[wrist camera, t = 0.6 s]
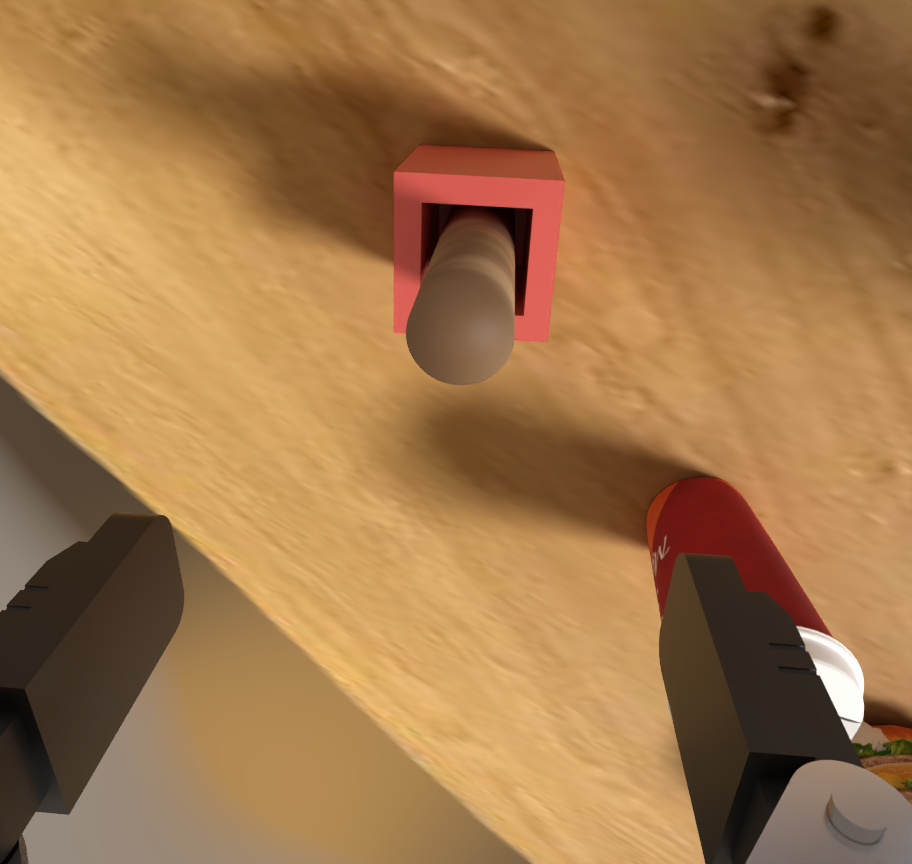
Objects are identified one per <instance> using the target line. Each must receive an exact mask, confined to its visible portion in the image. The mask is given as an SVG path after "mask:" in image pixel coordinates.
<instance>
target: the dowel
mask: <svg viewBox="0 0 912 864" xmlns="http://www.w3.org/2000/svg"><path fill="white" fill-rule="evenodd" d="M514 335H515V212H514V208H513V207H495V206H477V205H459V204H453V205H452V208H451V210H450V213H449V215H448V218H447V220H446V223H445V226H444V228H443V231H442V233H441V236H440V238H439V241H438V243H437V246H436V248H435V251H434V253H433V256H432V259H431V261H430V264H429V266H428V269H427V271H426V274H425V276H424V279H423V281H422V284H421V286H420V289H419V292H418V294H417V297H416V299H415V302H414V304H413V307H412V309H411V312H410V315H409V317H408V321H407V325H406V339H407V344H408V348H409V351H410V353H411V355H412V357H413V359H414V360H415V362H416V363H417V364H418V365H419V367H420V368H421V369H422V370H423V371H425V372H426V373H427V374H428V375H430V376H431V377H433V378H435V379H437V380H439V381H442V382H444V383H448V384H454V385H469V384H475V383H479V382H481V381H484V380H486V379H488V378H490V377H491V376H493V375H494V374H496V373H497V372H498V371H499V370H500V369H501V368H502V367H503V366H504V364H505V363H506V362H507V360H508V358H509V356H510V354H511V352H512V349H513V345H514Z"/></svg>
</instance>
